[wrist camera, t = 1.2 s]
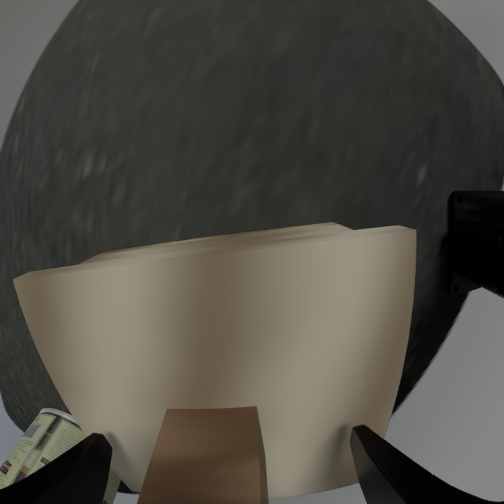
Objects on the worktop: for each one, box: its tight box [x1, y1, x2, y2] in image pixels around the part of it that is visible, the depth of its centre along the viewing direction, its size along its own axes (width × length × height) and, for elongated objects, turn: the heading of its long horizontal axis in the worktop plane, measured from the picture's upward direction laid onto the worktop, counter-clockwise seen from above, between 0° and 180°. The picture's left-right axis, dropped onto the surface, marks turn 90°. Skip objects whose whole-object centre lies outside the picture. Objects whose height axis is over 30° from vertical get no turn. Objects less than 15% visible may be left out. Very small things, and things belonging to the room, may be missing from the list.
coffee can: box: [0, 408, 121, 504], centre depth 10 cm, size 10×10×14 cm
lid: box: [13, 225, 416, 504], centre depth 7 cm, size 13×13×6 cm
